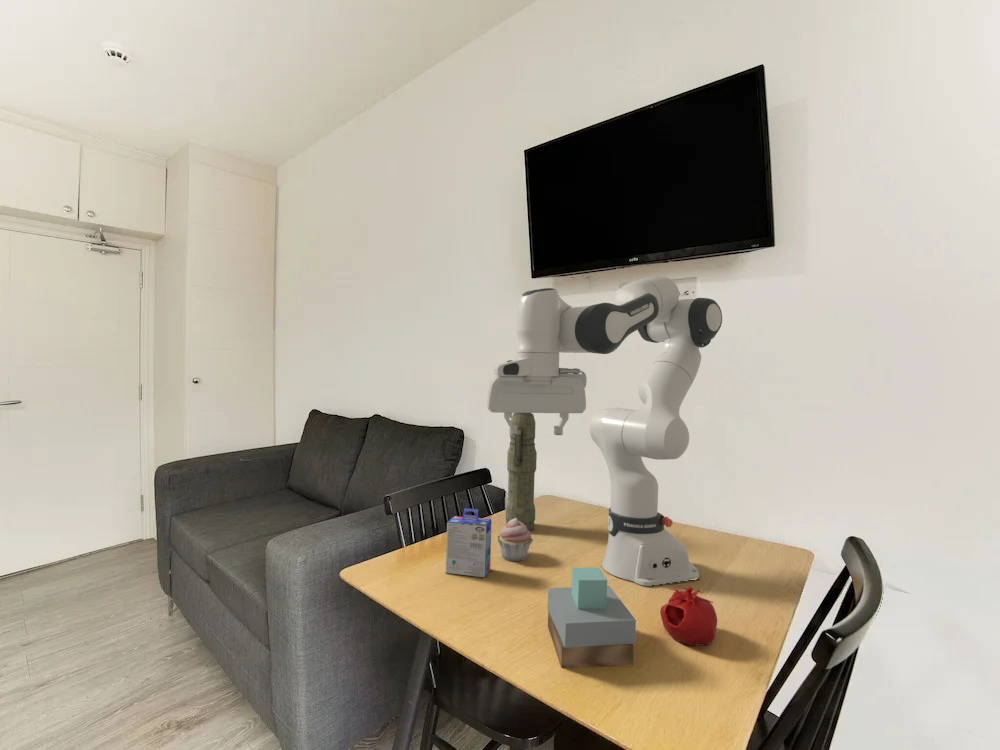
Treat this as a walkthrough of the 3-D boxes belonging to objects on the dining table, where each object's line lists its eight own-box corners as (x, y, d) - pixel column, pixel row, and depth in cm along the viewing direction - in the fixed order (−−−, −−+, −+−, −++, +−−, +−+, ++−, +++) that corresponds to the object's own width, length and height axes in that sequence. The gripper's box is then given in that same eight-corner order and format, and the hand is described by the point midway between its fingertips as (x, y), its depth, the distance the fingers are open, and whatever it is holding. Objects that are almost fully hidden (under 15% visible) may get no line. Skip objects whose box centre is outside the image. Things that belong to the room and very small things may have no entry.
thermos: (536, 522, 146) (539, 411, 146) (532, 535, 135) (535, 414, 134) (508, 519, 148) (511, 409, 147) (502, 532, 136) (505, 413, 136)
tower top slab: (608, 606, 89) (609, 585, 89) (635, 643, 77) (635, 620, 77) (547, 609, 88) (548, 588, 87) (564, 647, 76) (565, 623, 76)
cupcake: (531, 566, 114) (532, 525, 114) (493, 562, 116) (494, 522, 115) (534, 551, 123) (535, 513, 123) (499, 548, 125) (500, 511, 125)
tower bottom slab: (609, 628, 89) (610, 607, 89) (632, 669, 77) (633, 645, 77) (547, 629, 88) (548, 608, 88) (561, 671, 76) (561, 647, 76)
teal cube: (598, 594, 85) (599, 567, 85) (606, 608, 80) (607, 580, 80) (571, 594, 85) (572, 567, 85) (577, 609, 80) (578, 580, 80)
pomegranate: (708, 623, 90) (710, 576, 90) (724, 655, 80) (726, 602, 80) (655, 617, 92) (657, 571, 92) (665, 648, 82) (666, 596, 82)
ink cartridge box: (491, 568, 112) (492, 508, 112) (486, 578, 107) (487, 516, 106) (452, 564, 114) (453, 505, 114) (444, 573, 109) (446, 512, 108)
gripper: (582, 368, 99) (580, 432, 100) (487, 366, 97) (485, 432, 98) (591, 368, 93) (589, 437, 94) (489, 366, 91) (488, 437, 91)
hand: (535, 434), depth 96 cm, fingers open, 8 cm apart
